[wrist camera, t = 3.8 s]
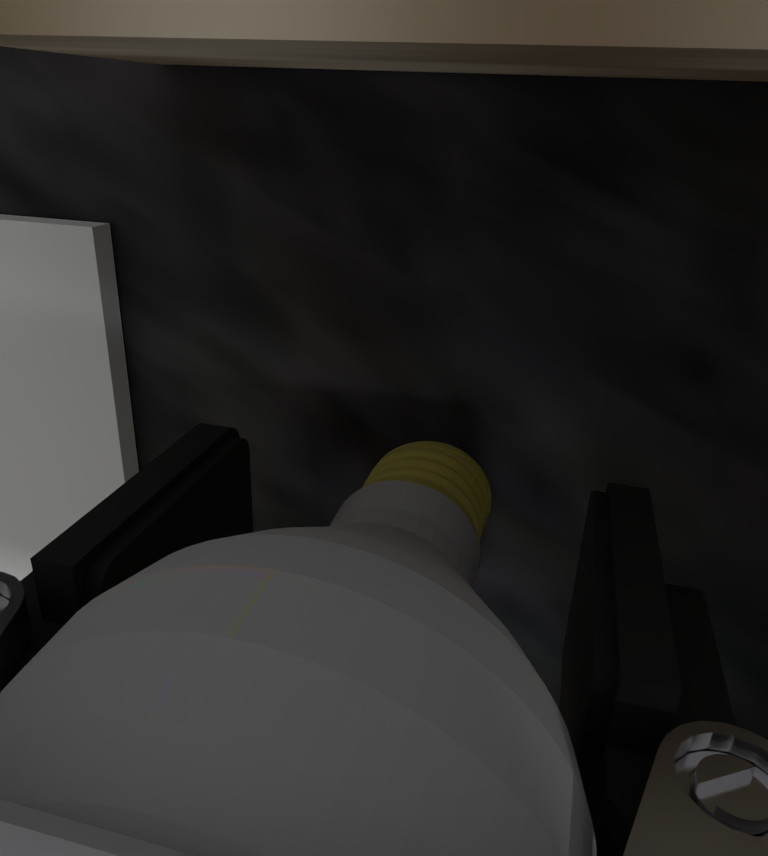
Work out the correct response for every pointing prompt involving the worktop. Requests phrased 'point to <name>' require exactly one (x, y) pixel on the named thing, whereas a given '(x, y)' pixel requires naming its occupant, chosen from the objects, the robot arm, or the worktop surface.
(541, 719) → the light bulb
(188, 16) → the u-shaped wooden frame
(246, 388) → the worktop surface
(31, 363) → the grey pad
